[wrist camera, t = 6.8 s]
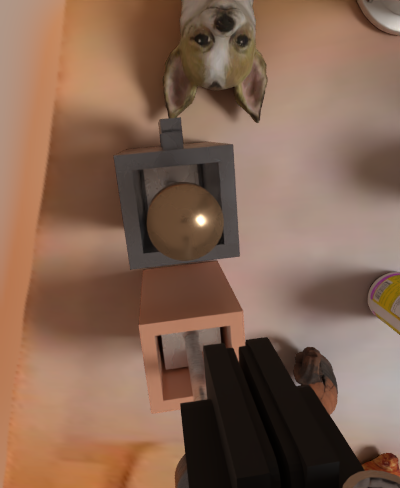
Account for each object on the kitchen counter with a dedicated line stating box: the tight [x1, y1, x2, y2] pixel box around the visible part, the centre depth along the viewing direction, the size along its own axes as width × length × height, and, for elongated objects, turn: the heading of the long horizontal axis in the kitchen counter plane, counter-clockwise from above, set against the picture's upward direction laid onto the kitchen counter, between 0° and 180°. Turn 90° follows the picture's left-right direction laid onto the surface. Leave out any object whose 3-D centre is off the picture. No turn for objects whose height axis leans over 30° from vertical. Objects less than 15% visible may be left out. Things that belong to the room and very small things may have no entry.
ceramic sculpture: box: [163, 0, 267, 123], centre depth 36 cm, size 11×9×15 cm
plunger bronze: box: [143, 164, 224, 261], centre depth 33 cm, size 6×6×18 cm
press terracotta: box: [139, 261, 245, 414], centre depth 41 cm, size 11×9×14 cm
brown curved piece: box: [293, 347, 338, 415], centre depth 50 cm, size 12×10×8 cm
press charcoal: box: [114, 117, 240, 270], centre depth 36 cm, size 11×9×14 cm
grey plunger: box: [161, 327, 221, 488], centre depth 30 cm, size 6×6×18 cm
